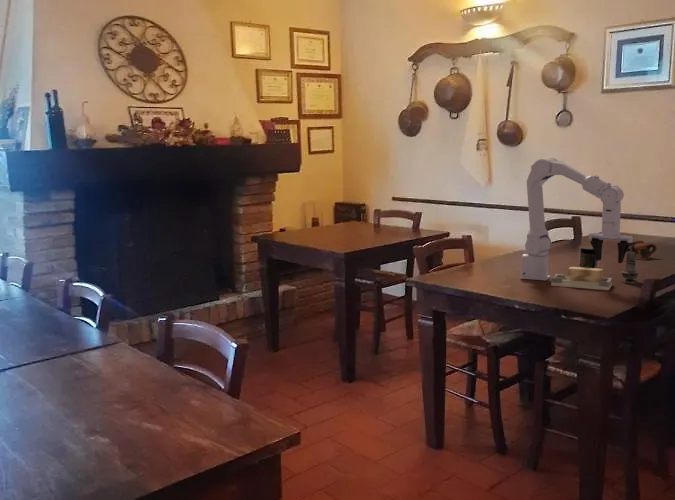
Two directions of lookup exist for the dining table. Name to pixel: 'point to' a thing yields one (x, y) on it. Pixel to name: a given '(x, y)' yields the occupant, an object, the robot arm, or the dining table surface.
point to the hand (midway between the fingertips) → (609, 261)
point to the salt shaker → (630, 268)
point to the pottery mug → (642, 249)
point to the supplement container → (587, 257)
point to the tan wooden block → (585, 274)
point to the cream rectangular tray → (581, 283)
